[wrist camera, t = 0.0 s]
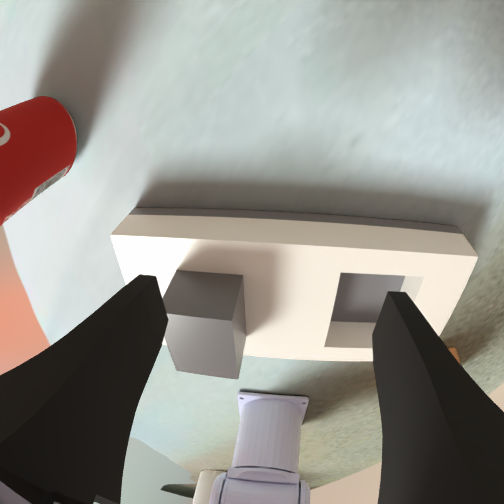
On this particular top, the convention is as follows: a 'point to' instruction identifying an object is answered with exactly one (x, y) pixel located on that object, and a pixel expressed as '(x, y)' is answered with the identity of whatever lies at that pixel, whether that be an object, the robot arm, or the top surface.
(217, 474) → the utensil holder
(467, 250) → the white slotted slab
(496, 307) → the top surface
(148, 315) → the robot arm
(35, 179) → the beverage can
